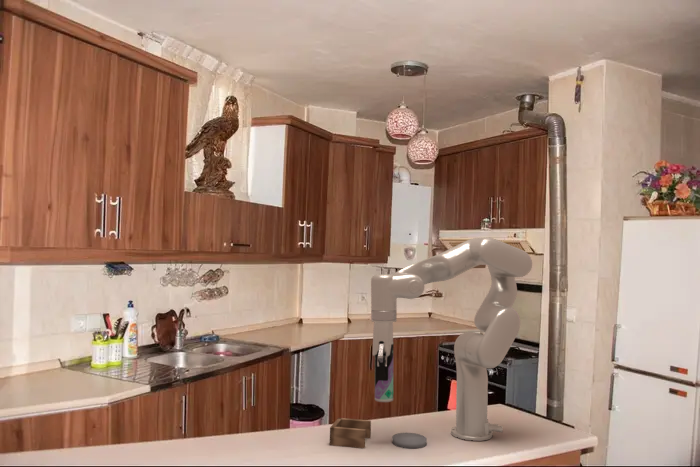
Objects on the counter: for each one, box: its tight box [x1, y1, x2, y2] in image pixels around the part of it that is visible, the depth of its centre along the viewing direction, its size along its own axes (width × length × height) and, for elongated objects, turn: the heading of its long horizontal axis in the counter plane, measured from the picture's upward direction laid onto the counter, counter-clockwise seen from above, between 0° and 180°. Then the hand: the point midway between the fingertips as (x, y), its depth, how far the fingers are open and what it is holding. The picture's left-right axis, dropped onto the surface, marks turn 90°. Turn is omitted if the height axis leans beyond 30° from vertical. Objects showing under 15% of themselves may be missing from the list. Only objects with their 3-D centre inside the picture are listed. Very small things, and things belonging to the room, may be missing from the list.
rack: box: [329, 417, 372, 449], centre depth 166 cm, size 10×10×5 cm
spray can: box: [374, 339, 394, 403], centre depth 166 cm, size 6×6×20 cm
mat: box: [391, 432, 427, 450], centre depth 166 cm, size 10×10×2 cm
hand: (384, 377), depth 166 cm, fingers closed on spray can, 5 cm apart
